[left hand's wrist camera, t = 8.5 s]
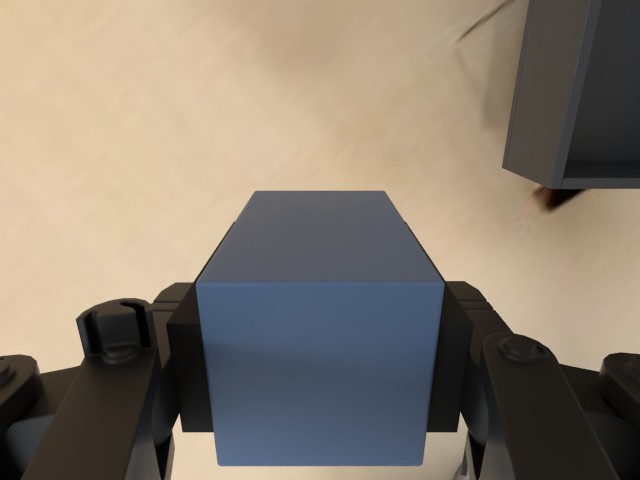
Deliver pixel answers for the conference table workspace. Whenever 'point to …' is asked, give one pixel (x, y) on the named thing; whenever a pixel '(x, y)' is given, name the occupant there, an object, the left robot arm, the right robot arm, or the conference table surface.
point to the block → (320, 333)
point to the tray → (578, 96)
